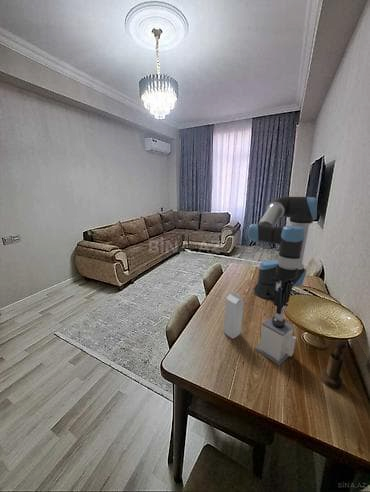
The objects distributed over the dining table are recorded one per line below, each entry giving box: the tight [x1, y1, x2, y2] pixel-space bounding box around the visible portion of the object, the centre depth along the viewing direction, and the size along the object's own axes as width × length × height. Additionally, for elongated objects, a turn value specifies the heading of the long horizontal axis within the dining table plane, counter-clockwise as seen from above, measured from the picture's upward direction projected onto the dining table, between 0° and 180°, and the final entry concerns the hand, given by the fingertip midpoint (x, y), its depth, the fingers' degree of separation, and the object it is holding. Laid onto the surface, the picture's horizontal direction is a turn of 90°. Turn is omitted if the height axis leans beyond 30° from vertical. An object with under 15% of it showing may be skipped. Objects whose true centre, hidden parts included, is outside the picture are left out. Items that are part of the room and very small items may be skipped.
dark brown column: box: [320, 338, 346, 390], centre depth 76 cm, size 7×6×18 cm
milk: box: [222, 290, 245, 340], centre depth 100 cm, size 6×6×22 cm
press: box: [255, 315, 297, 367], centre depth 89 cm, size 11×13×14 cm
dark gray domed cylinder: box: [271, 315, 286, 328], centre depth 89 cm, size 6×6×14 cm
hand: (278, 319), depth 87 cm, fingers closed
